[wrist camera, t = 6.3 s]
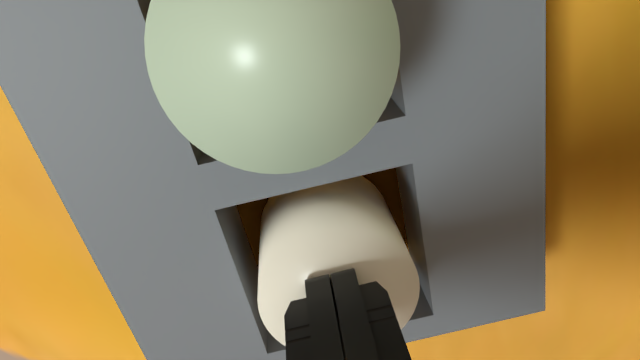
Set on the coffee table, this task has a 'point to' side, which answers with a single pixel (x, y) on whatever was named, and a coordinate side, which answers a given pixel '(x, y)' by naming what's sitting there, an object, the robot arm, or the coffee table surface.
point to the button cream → (331, 247)
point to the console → (244, 186)
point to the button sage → (273, 76)
